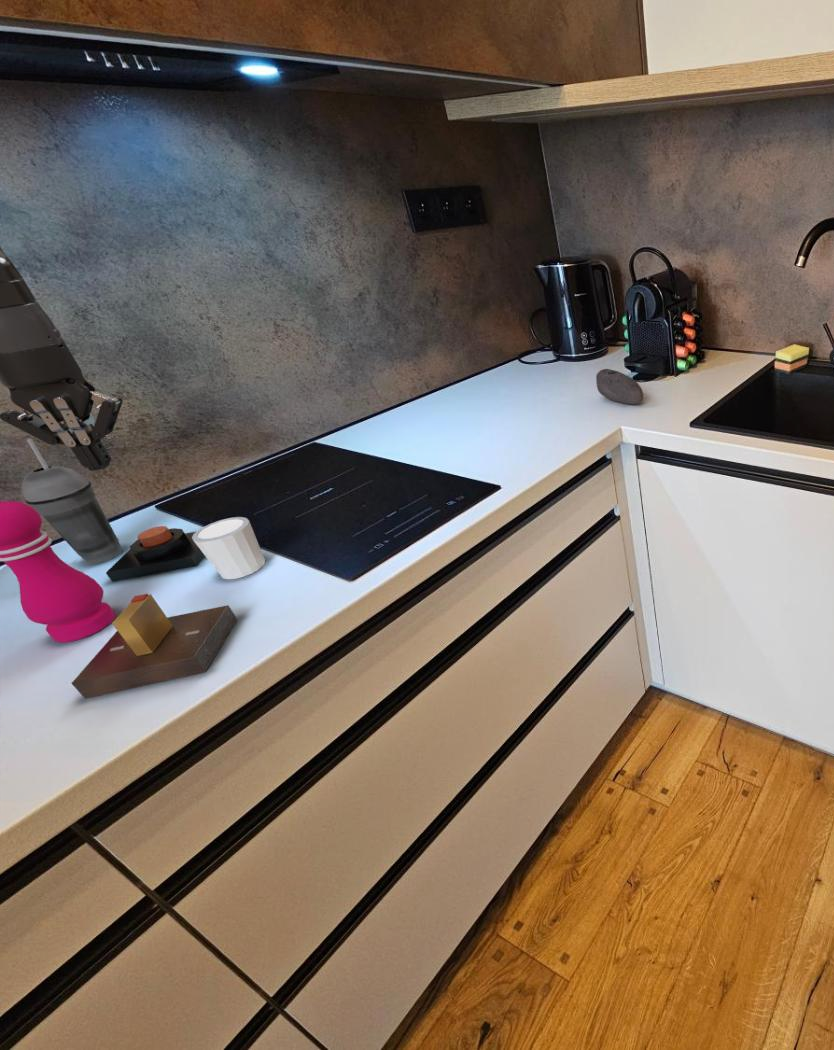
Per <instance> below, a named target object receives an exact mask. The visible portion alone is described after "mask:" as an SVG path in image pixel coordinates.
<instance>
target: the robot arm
mask: <svg viewBox="0 0 834 1050" xmlns="http://www.w3.org/2000/svg"><path fill="white" fill-rule="evenodd" d="M0 384H1V385H2V386H4V387H6V388H7V389H8V391H9V399H10V400H11V402H12V404H11V406H10V407H8V409H7V410H6V411H3V412H2V413H0V420H1V421H3V422H5V423H6V424H8V425H11V426H13V427H14V428H16V429H18V430H20V431H23V432H24V433H26V434H28V435H30V436H33V437H34V438H36V439H38V440H40V441H42V442H44V443H45V444H48V445H50V446H56V445H63V446H66V447H68V448H70V449H71V451H72V453H73V454H74V456H75V457H76V459H77V460H78V462H79V463H80V465H81V466H82V467H84V468H87V469H88V470H89V471H91V472H93V471H94V472H95V471H98V470H104V469H106V468H108V467H109V466H110V465H111V462H112V457H111V454H110V453H109V452H108V451H107V449H106V447H105V445H104V443H103V442H102V439H104V438H105V437H106V436H107V435H109V434H111V433H113V431H114V428H115V425H116V423H117V419H118V416H119V413H120V411H121V407H122V404H123V402H124V401H123V398H122V397H121V396H119V395H112V396H109V395H107V394H104V393H102V392H98V391H97V390H96V388H95V386H94V385H93V384H91V383H90V382H89V381H87V379H85V377H84V374H83V371H82V369H81V367H80V366H79V364H78V362H77V361H76V359H75V357H74V355H73V353H72V352H71V349H69V347H68V346H67V344H66V342H65V340H64V339H63V337H62V335H61V332H60V331H59V330H58V329H57V326H55V324H54V321H52V319H51V318H50V316H49V315H48V314H47V312H46V311H45V310H44V309H43V307H42V306H41V304H40V303H39V302H38V301H37V298H36V297H35V295H34V294H33V292H32V290H31V289H30V287H29V285H28V284H27V282H26V280H25V278H23V275H22V274H21V273H20V271H19V270H18V268H17V267H16V266H15V264H14V263H13V262H12V260H11V259H10V258H9V257H8V256H7V255H6V253H5V252H4V250H3V248H2V247H1V246H0ZM93 407H95V410H96V411H98V413H97V416H96V419H95V417H94V414H93V412H92V410H93Z"/></svg>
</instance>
